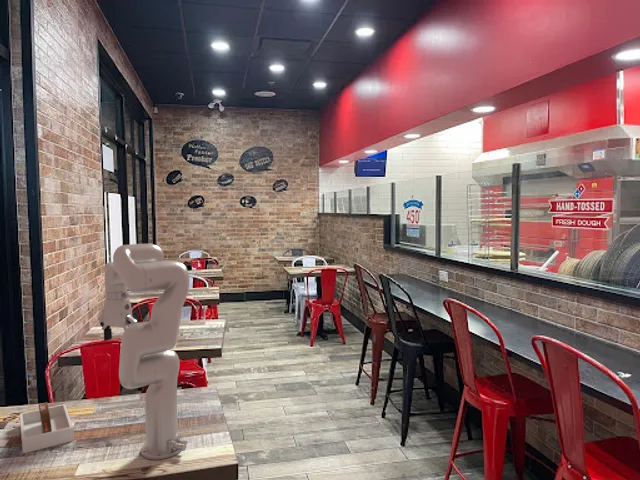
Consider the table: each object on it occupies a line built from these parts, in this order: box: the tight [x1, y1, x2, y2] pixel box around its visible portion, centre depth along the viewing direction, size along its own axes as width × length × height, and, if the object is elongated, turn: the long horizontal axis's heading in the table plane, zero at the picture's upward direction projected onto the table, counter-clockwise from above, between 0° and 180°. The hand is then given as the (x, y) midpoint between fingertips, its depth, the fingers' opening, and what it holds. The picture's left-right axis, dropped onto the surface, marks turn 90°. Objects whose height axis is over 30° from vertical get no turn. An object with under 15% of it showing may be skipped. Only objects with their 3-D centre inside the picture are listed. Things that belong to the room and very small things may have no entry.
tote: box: [19, 403, 75, 454], centre depth 157 cm, size 22×14×4 cm, turn 34°
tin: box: [38, 401, 52, 433], centre depth 157 cm, size 15×3×8 cm, turn 34°
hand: (118, 341), depth 173 cm, fingers open, 9 cm apart
